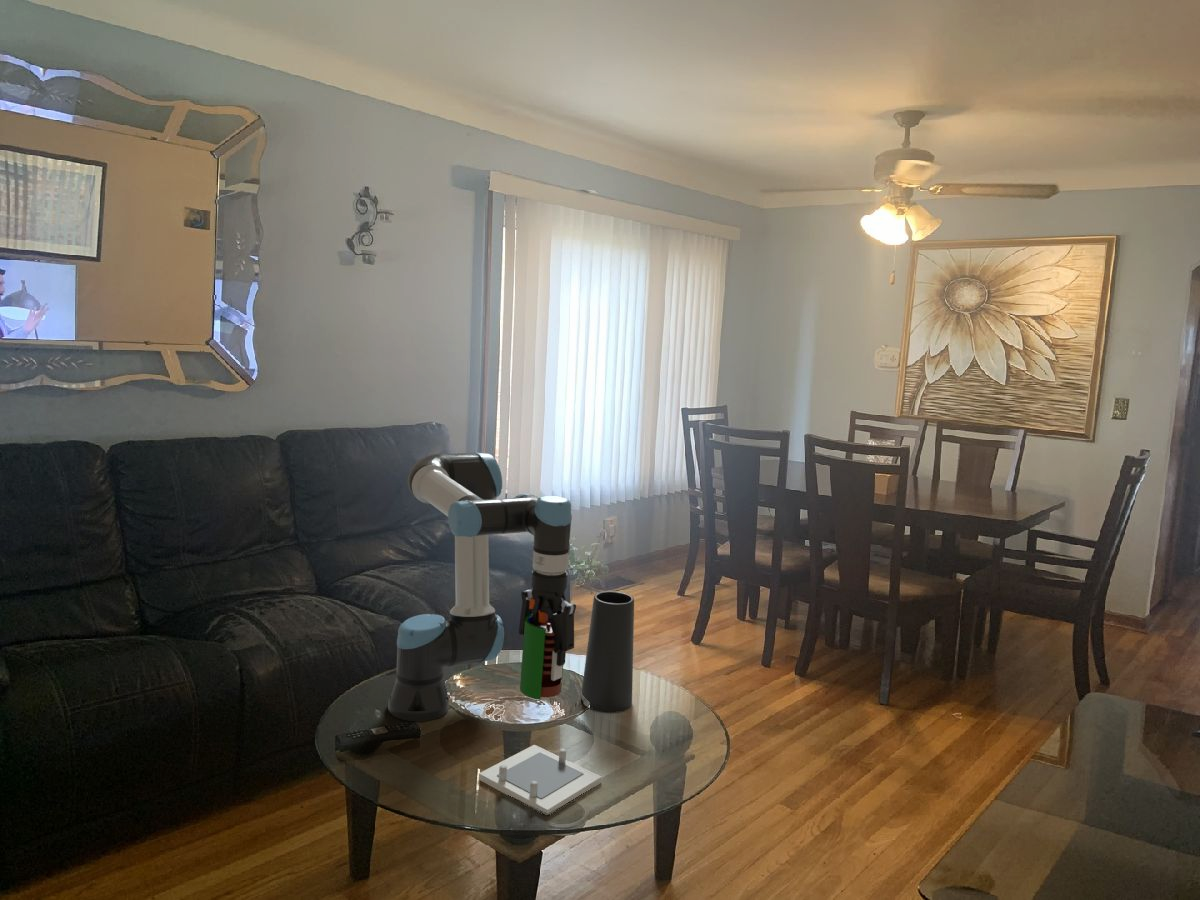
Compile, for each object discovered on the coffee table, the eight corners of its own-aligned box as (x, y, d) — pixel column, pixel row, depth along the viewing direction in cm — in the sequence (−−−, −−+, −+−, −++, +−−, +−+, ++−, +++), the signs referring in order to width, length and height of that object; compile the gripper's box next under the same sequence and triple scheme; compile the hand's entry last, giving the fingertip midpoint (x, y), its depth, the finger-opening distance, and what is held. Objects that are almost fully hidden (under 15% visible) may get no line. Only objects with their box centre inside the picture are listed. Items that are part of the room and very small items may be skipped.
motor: (554, 702, 186) (560, 611, 183) (513, 695, 188) (518, 605, 185) (566, 683, 196) (572, 596, 193) (527, 677, 198) (532, 590, 194)
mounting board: (478, 779, 194) (479, 760, 193) (534, 750, 208) (535, 732, 207) (547, 816, 182) (548, 796, 181) (601, 782, 196) (602, 764, 195)
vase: (632, 714, 230) (640, 608, 225) (579, 711, 230) (587, 604, 225) (631, 692, 243) (639, 590, 238) (581, 688, 243) (588, 587, 238)
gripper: (504, 562, 190) (499, 664, 194) (573, 585, 178) (566, 693, 182) (528, 556, 196) (523, 655, 200) (596, 577, 184) (589, 682, 188)
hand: (543, 673), depth 191 cm, fingers closed on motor, 6 cm apart
